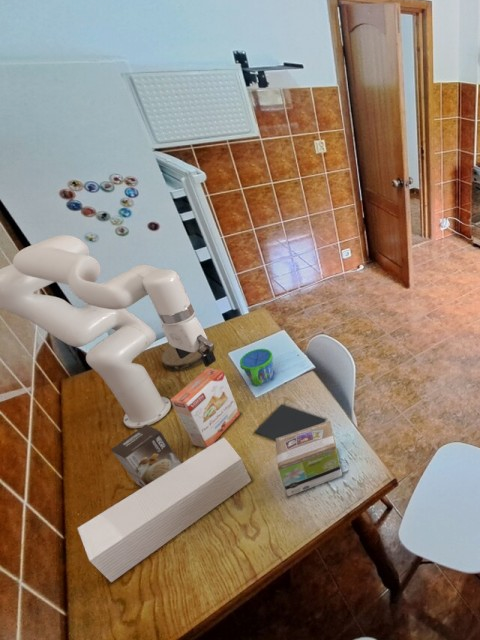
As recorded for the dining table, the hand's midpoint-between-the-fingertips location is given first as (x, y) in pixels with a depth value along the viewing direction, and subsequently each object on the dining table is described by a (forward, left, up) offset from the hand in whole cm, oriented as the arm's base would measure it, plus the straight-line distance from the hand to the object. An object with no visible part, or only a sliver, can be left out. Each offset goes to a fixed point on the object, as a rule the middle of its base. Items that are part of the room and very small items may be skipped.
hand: (198, 359), depth 114 cm
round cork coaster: (-40, +19, -29) cm, 53 cm away
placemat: (+21, +6, -28) cm, 36 cm away
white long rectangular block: (+13, -26, -29) cm, 41 cm away
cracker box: (0, -3, -29) cm, 29 cm away
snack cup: (-4, +20, -29) cm, 35 cm away
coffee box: (-3, -20, -29) cm, 35 cm away
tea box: (+39, -5, -29) cm, 48 cm away
